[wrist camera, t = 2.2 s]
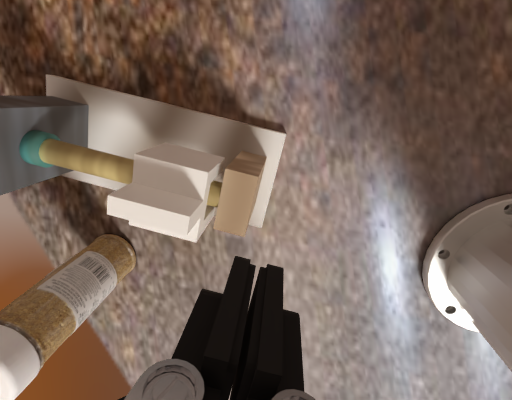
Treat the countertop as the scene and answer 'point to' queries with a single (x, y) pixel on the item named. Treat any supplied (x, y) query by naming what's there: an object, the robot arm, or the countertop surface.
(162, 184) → the sleeve
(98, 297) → the sprinkles bottle
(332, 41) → the countertop surface
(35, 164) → the linear actuator
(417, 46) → the countertop surface
